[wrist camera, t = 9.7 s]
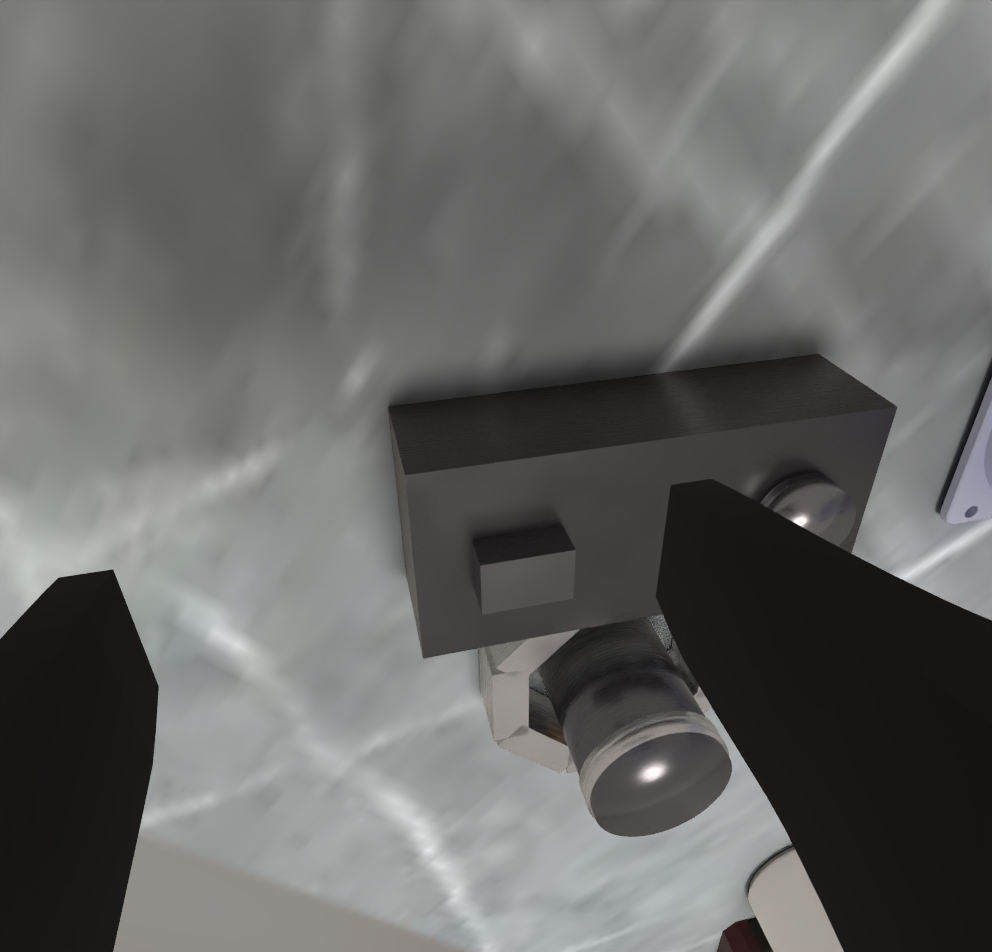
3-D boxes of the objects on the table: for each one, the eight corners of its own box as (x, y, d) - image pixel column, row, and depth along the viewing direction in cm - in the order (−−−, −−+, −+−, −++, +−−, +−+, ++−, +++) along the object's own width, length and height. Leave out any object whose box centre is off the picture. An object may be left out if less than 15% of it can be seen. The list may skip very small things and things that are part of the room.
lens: (672, 602, 27) (760, 738, 22) (625, 694, 29) (695, 836, 24) (557, 595, 25) (624, 740, 20) (517, 692, 27) (568, 844, 22)
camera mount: (818, 354, 22) (924, 424, 19) (739, 688, 30) (801, 783, 27) (388, 406, 20) (410, 499, 16) (425, 754, 28) (446, 868, 24)
